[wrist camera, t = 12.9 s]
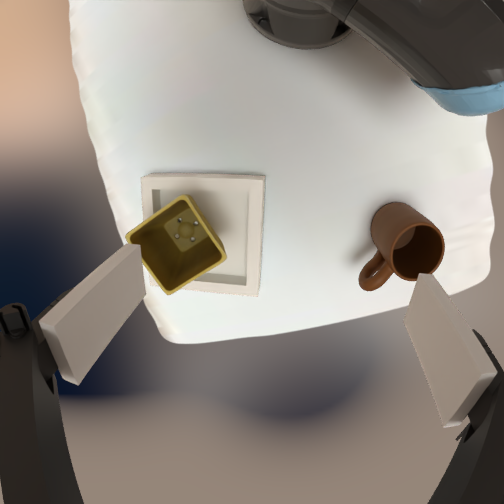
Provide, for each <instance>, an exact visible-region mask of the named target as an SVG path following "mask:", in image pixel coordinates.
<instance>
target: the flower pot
mask: <svg viewBox="0 0 504 504" xmlns="http://www.w3.org/2000/svg"><path fill="white" fill-rule="evenodd" d="M179 218H181V219H182V222H178V219H179ZM194 222H198V225H197V226H195V225H194ZM176 234H178V235H179V237H178V238H176V237H175V235H176ZM192 237H193V238H195V240H194V241H191V238H192ZM125 238H126V240H127V242H128V244H137V245H140V248H141V257H142V263H143V265H144V266H145V267H146V269H147V270H148V271H149V273H150V274H151V275H152V277H153V278H154V279H155V281H156V282H157V284H158V285H159V286H160V288H161V289H162V290H163V291H164V292H165V293H166V294H167V295H171V294H173V293H174V292H176V291H178V290H179V289H181V288H182V287H184V286H185V285H187V284H189V283H190V282H192V281H193V280H195V279H196V278H198V277H200V276H201V275H203V274H205V273H206V272H208V271H210V270H211V269H213V268H215V267H216V266H218V265H220V264H221V263H223V262H224V261H225V260H226V259H227V255H226V252H225V249H224V245H223V243H222V241H221V240H220V238H219V237H218V235H217V234H216V233H215V231H214V230H213V228H212V227H211V225H210V224H209V222H208V221H207V219H206V218H205V216H204V215H203V213H202V212H201V210H200V209H199V207H198V205H197V204H196V202H195V201H194V199H193V198H192V196H190V195H187V194H182V195H180V196H178V197H177V198H176V199H174V200H173V201H171V202H170V203H169V204H167V205H166V206H164V207H163V208H162V209H160V210H159V211H157V212H156V213H154V214H153V215H152V216H150V217H149V218H148V219H146V220H145V221H143V222H142V223H141V224H139V225H138V226H136V227H135V228H134V229H132V230H131V231H130V232H128V233H127V234H126V236H125Z"/></svg>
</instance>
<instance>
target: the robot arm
mask: <svg viewBox="0 0 504 504" xmlns="http://www.w3.org/2000/svg"><path fill="white" fill-rule="evenodd" d="M243 5H244V8H245V11H246V13H247V16H248V18H249V20H250V22H251V23H252V24H253V26H254V27H255V28H256V29H257V30H258V31H259V32H260V33H261V34H263V35H264V36H265V37H267V38H268V39H270V40H272V41H274V42H276V43H278V44H281V45H284V46H287V47H292V48H297V49H318V48H323V47H327V46H330V45H333V44H335V43H337V42H339V41H341V40H342V39H344V38H345V37H346V36H347V35H348V34H349V33H350V32H351V31H352V30H354V31H356V32H357V33H358V34H360V35H361V36H362V37H364V38H365V39H366V40H367V41H369V42H370V43H371V44H372V45H374V46H375V47H376V48H377V49H379V50H380V51H381V52H382V53H383V54H385V55H386V56H387V57H388V58H389V59H390V60H392V61H393V62H394V63H395V64H396V65H397V66H398V67H399V68H401V69H402V70H403V71H404V72H405V73H406V74H407V75H408V76H409V77H410V78H411V81H412V82H413V83H414V84H415V85H416V86H417V87H419V88H421V89H423V90H424V91H425V92H427V93H428V94H429V95H430V96H431V97H432V98H433V99H434V100H435V101H436V102H437V103H438V104H439V105H440V106H441V107H442V108H444V109H445V110H447V111H449V112H453V113H455V114H457V115H461V116H480V115H485V114H489V113H492V112H496V111H498V110H501V109H504V0H243ZM145 295H146V290H145V282H144V274H143V266H142V257H141V248H140V245H137V244H125V245H124V246H123V247H122V248H120V250H118V251H117V252H116V253H114V254H113V255H112V256H111V257H110V258H108V259H107V260H106V261H105V262H104V263H102V264H101V265H100V266H99V267H98V268H97V269H95V270H94V271H93V272H92V273H91V274H90V275H89V276H87V277H86V278H85V279H84V280H83V281H82V282H81V283H79V284H78V285H77V286H76V287H75V288H72V289H70V290H68V291H66V292H64V293H62V294H61V295H60V296H59V297H58V298H57V299H56V301H53V302H52V303H51V304H50V306H48V307H47V308H46V309H45V310H44V311H43V312H42V313H41V314H39V315H38V316H37V317H36V318H35V319H34V320H33V321H32V322H31V321H30V318H29V316H28V314H27V310H26V308H25V306H24V305H23V304H20V303H12V304H9V305H6V306H5V307H3V308H1V310H0V329H1V331H2V332H0V479H1V487H2V494H3V500H4V504H84V502H83V499H82V496H81V493H80V490H79V487H78V484H77V481H76V477H75V473H74V470H73V467H72V463H71V459H70V454H69V451H68V446H67V442H66V437H65V432H64V427H63V422H62V416H61V410H60V404H59V397H58V390H57V382H56V378H55V376H54V373H55V371H56V370H57V369H59V371H60V373H61V375H62V377H63V379H64V380H67V381H69V382H72V383H74V384H77V385H79V384H80V382H81V381H82V379H83V378H84V377H85V375H86V374H87V372H88V371H89V370H90V368H91V367H92V365H93V364H94V363H95V361H96V360H97V358H98V357H99V356H100V354H101V353H102V352H103V350H104V349H105V347H106V346H107V345H108V343H109V342H110V341H111V339H112V338H113V337H114V335H115V334H116V333H117V331H118V330H119V329H120V327H121V326H122V325H123V324H124V322H125V321H126V320H127V318H128V317H129V316H130V314H131V313H132V312H133V310H134V309H135V308H136V307H137V305H138V304H139V303H140V301H141V300H142V299H143V298H144V296H145ZM403 323H404V325H405V327H406V330H407V332H408V334H409V337H410V339H411V341H412V344H413V345H414V349H415V351H416V353H417V355H418V358H419V361H420V363H421V366H422V368H423V371H424V374H425V376H426V379H427V382H428V384H429V387H430V390H431V392H432V395H433V398H434V401H435V404H436V407H437V410H438V412H439V416H440V419H441V422H442V425H443V427H444V428H445V427H451V426H457V425H460V424H461V422H462V421H463V420H464V419H465V417H466V416H467V415H468V417H469V419H470V423H469V424H468V425H467V426H466V427H465V429H464V430H463V431H462V432H461V434H460V435H459V436H458V437H457V438H456V440H457V441H458V439H460V437H462V438H461V440H460V442H459V445H458V447H457V449H456V451H455V453H454V456H453V458H452V460H451V462H450V464H449V466H448V468H447V470H446V472H445V474H444V476H443V477H442V479H441V481H440V483H439V485H438V487H437V488H436V490H435V492H434V494H433V495H432V497H431V499H430V500H429V502H428V504H504V371H503V369H502V368H501V366H500V364H499V363H498V361H497V359H496V358H495V356H494V355H493V354H492V351H491V350H490V348H489V347H488V345H487V343H486V342H485V340H484V339H483V337H482V336H481V335H480V334H479V333H477V332H476V331H475V330H474V329H473V330H472V329H471V328H470V326H469V325H468V323H467V322H466V320H465V319H464V317H463V316H462V315H461V313H460V311H459V310H458V309H457V307H456V306H455V305H454V303H453V302H452V300H451V299H450V297H449V296H448V295H447V293H446V292H445V290H444V289H443V288H442V286H441V285H440V284H439V282H438V281H437V280H436V278H435V277H434V276H433V275H432V274H422V273H419V275H418V279H417V282H416V285H415V288H414V291H413V294H412V297H411V300H410V303H409V306H408V309H407V312H406V315H405V317H404V320H403Z"/></svg>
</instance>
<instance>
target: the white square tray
mask: <svg viewBox="0 0 504 504" xmlns="http://www.w3.org/2000/svg"><path fill="white" fill-rule="evenodd" d="M264 193H265V176H257V175H236V174H204V173H151V174H148V175H146V176H143V177H141V194H142V209H143V221H145V220H146V219H148V218H149V217H150V216H152V215H153V214H154V213H156V212H157V211H159V210H160V209H162V208H163V207H164V206H166V205H167V204H169V203H170V202H171V201H173V200H174V199H176V198H177V197H178V196H180V195H182V194H187V195H190V196H192V198H193V199H194V201H195V202H196V204H197V205H198V207H199V209H200V210H201V212H202V213H203V215H204V216H205V218H206V219H207V221H208V222H209V224H210V225H211V227H212V228H213V230H214V231H215V233H216V234H217V235H218V237H219V238H220V240H221V241H222V243H223V245H224V249H225V252H226V255H227V259H226V260H225V261H224V262H223V263H221V264H220V265H218V266H216V267H215V268H213V269H211V270H210V271H208V272H206V273H205V274H203V275H201V276H200V277H198V278H196V279H195V280H193V281H192V282H190V283H189V284H187V285H185V286H184V287H182V288H181V289H185V290H194V291H203V292H212V293H222V294H232V295H242V296H253V297H258V292H259V287H260V275H261V256H262V236H263V215H264ZM178 222H182V219H181V218H179V219H178ZM194 225H195V226H197V225H198V222H194ZM175 237H176V238H178V237H179V235H178V234H176V235H175ZM194 240H195V238H193V237H192V238H191V241H194ZM149 279H150V285H152V286H159V285H158V284H157V282H156V281H155V279H154V278H153V277H152V275H151V274H150V273H149Z"/></svg>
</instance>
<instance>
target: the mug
mask: <svg viewBox="0 0 504 504" xmlns="http://www.w3.org/2000/svg"><path fill="white" fill-rule="evenodd" d="M371 235H372V239H373V241H374V244H375V245H376V247H377V248H378V251H377V253H376V254H375V255H374V257H373V258H372V259H371V260H370V261H369V262H368V263H367V264H366V265H365V266H364V267H363V269H362V271H361V272H360V275H359V285H360V287H361V288H362V289H363V290H366V291H373V290H375V289H378V288H379V287H381V286H382V285H383V284H384V283H385V282H386V281H387V280H388V279H389V277H390V276H391V275H392V274H393V273H395V274H396V275H397V276H399V277H400V278H402V279H404V280H407V281H417V279H418V275H419V273H422V274H432V273H433V272H434V271H435V270H436V269H437V268H438V266H439V265H440V263H441V261H442V259H443V256H444V250H445V244H444V239H443V236H442V234H441V232H440V230H439V229H438V228H437V227H436V226H435V225H434V224H433V223H432V222H431V221H430V220H428V219H427V218H426V217H424V216H423V215H422V214H420V213H419V212H418V211H416V210H415V209H413V208H412V207H410V206H408V205H406V204H404V203H397V202H395V203H390V204H387V205H385V206H384V207H382V208H381V209H380V210H379V211H378V212H377V213H376V215H375V216H374V218H373V221H372V225H371ZM376 272H377V273H376ZM375 273H376V274H375ZM374 274H375V275H374ZM373 275H374V276H373Z"/></svg>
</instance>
